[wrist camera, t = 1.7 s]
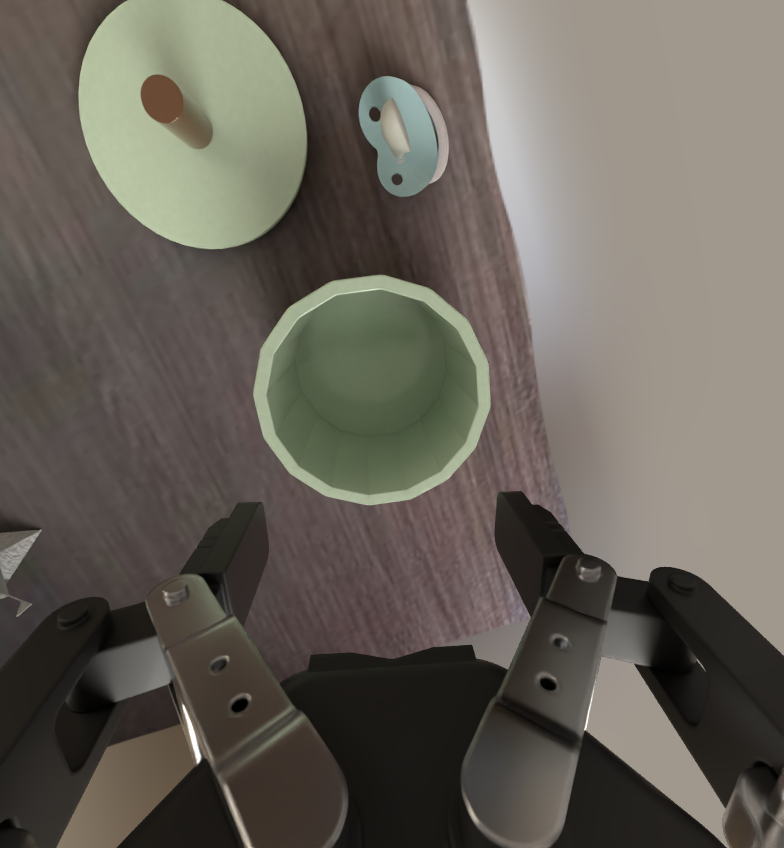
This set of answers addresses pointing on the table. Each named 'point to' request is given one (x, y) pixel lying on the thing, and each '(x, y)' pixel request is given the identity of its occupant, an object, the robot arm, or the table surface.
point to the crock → (372, 389)
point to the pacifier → (404, 134)
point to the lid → (193, 120)
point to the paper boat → (14, 559)
